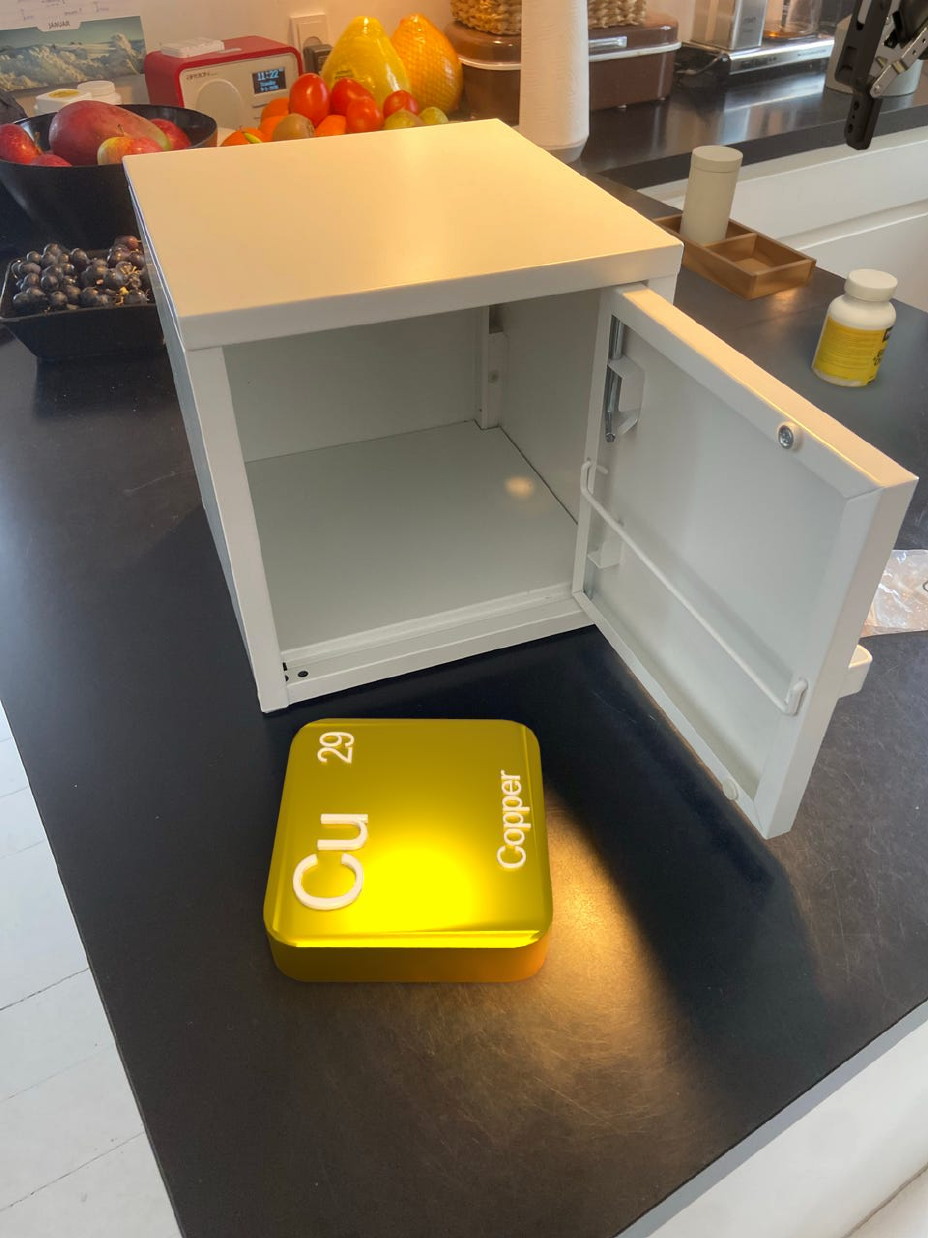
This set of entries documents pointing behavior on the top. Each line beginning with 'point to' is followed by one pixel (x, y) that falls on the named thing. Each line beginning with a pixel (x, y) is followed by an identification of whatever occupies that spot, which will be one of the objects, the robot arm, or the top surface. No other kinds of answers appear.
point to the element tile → (411, 853)
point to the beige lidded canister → (710, 193)
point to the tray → (744, 260)
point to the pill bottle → (856, 329)
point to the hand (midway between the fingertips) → (902, 143)
